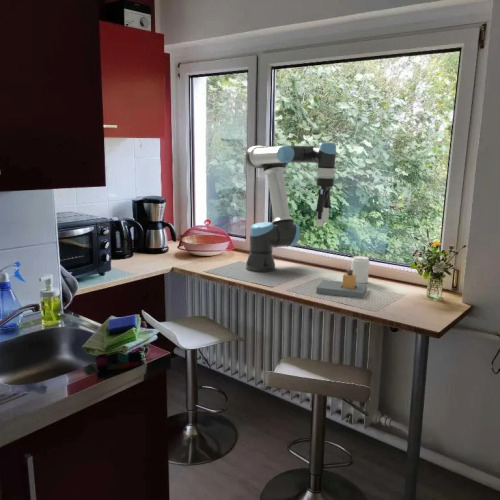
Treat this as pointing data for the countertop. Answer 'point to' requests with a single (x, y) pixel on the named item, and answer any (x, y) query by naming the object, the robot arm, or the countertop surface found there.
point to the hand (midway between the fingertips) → (322, 224)
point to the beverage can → (360, 268)
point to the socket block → (341, 289)
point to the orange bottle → (349, 280)
